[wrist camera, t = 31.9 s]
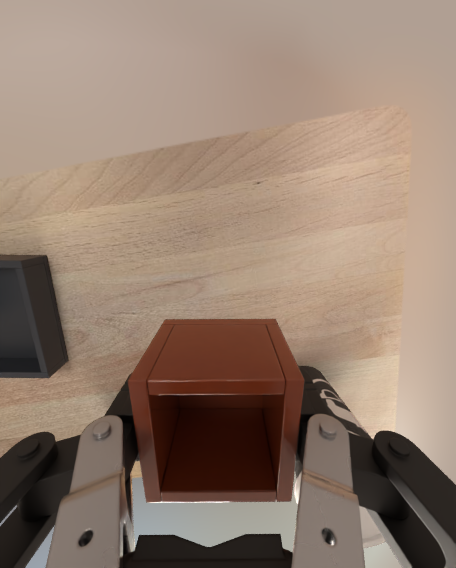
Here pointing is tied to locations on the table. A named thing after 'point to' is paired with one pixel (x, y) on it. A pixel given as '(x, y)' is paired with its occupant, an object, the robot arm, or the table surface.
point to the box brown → (217, 412)
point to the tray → (29, 319)
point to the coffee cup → (344, 415)
